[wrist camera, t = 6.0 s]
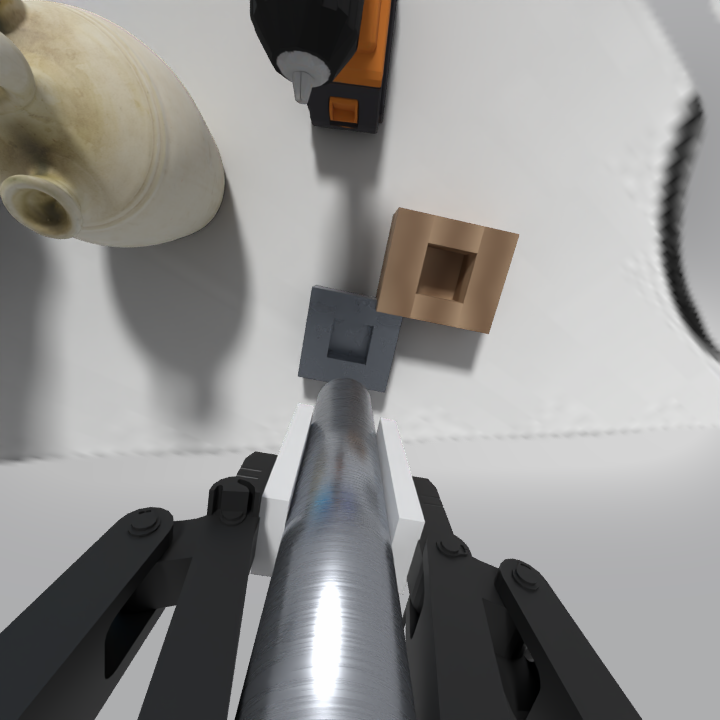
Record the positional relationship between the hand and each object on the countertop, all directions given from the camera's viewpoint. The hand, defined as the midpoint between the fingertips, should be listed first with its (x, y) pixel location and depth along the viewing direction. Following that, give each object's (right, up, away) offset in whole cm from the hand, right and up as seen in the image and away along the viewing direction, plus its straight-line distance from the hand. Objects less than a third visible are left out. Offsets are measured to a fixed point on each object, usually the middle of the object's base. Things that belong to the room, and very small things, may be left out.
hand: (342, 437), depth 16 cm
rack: (+9, +14, +22) cm, 28 cm away
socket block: (0, +7, +24) cm, 25 cm away
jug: (-19, +23, +19) cm, 36 cm away
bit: (0, +1, +4) cm, 4 cm away
